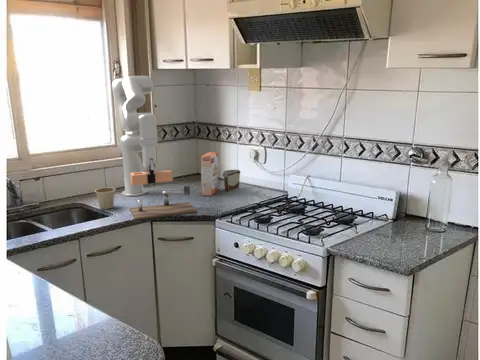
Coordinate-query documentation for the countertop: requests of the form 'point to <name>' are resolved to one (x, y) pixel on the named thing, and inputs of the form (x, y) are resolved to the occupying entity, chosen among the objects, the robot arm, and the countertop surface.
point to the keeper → (185, 192)
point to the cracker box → (209, 173)
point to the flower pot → (105, 197)
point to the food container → (231, 179)
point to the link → (142, 177)
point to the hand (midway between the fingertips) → (151, 181)
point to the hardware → (166, 202)
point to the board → (163, 210)
